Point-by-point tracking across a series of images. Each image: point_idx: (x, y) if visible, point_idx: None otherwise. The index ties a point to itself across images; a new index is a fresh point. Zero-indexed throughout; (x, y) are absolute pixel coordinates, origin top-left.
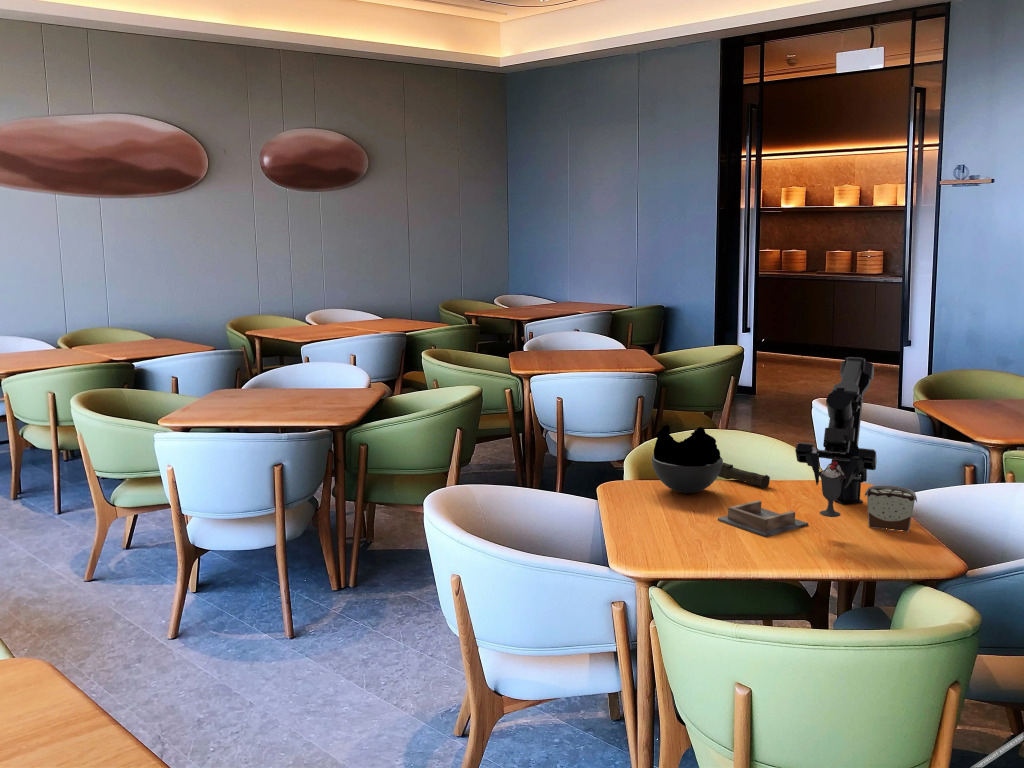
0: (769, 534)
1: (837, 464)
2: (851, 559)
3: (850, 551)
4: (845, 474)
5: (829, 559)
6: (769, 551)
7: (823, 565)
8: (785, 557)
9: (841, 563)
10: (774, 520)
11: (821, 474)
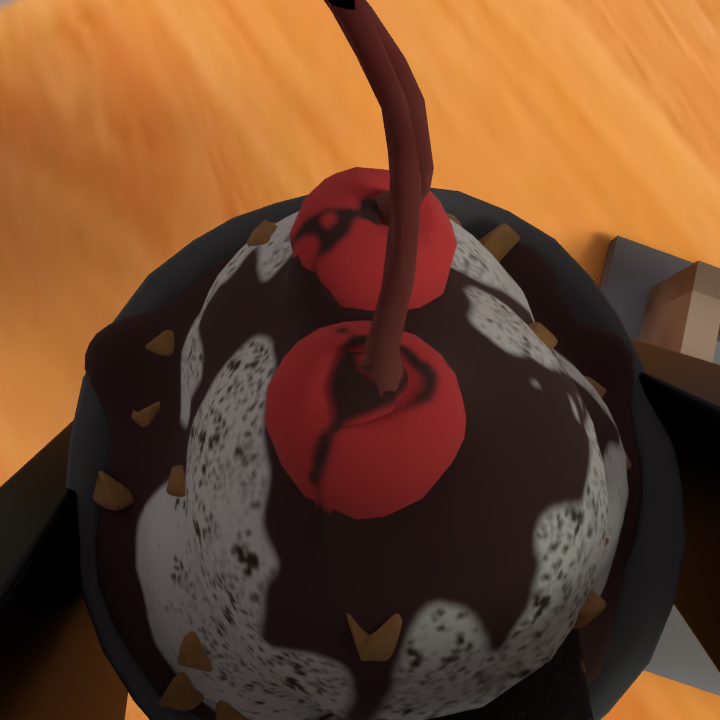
0: (607, 268)
1: (286, 473)
2: (81, 156)
3: (120, 280)
4: (130, 677)
5: (189, 96)
6: (489, 53)
7: (189, 2)
8: (389, 15)
9: (114, 72)
10: None
11: (575, 359)
